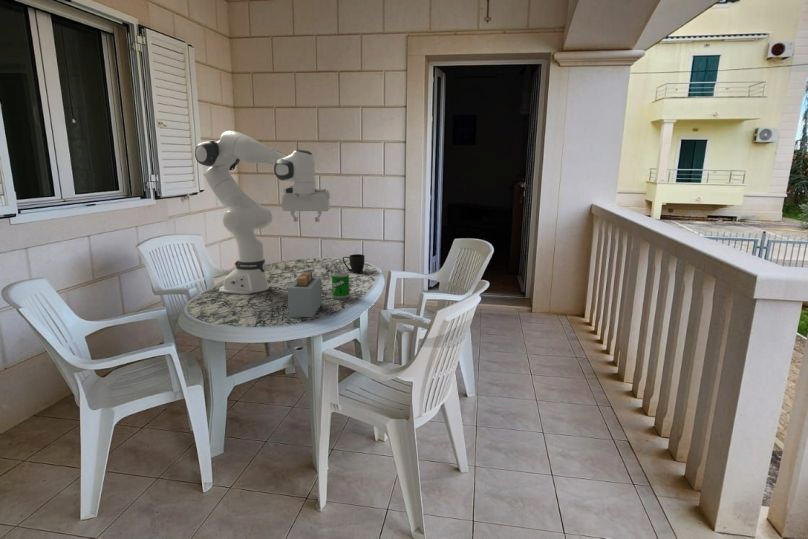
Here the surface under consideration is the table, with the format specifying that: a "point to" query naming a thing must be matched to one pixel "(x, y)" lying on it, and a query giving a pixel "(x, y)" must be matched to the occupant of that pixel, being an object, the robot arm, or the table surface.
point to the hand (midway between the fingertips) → (306, 221)
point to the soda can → (340, 284)
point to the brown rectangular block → (304, 279)
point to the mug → (356, 263)
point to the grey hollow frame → (304, 298)
